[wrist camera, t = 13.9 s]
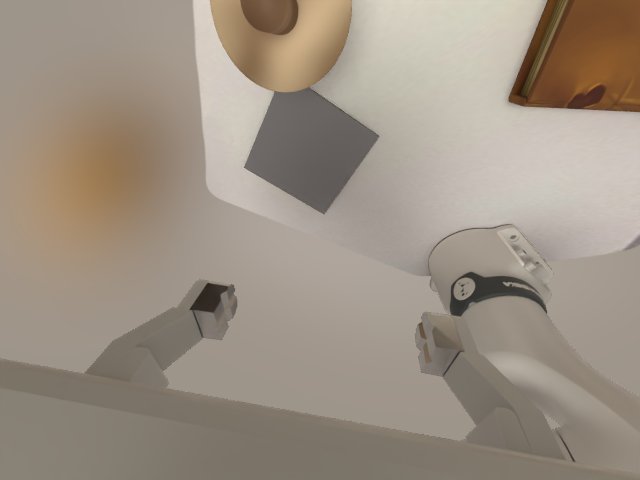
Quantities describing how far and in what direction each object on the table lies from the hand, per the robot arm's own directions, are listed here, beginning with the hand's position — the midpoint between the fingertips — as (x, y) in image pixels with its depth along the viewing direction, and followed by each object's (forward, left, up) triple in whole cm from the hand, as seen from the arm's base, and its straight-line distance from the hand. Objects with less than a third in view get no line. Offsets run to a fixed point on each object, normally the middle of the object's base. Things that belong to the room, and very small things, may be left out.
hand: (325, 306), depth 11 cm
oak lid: (+11, -7, -19) cm, 23 cm away
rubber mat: (+4, +7, -34) cm, 35 cm away
